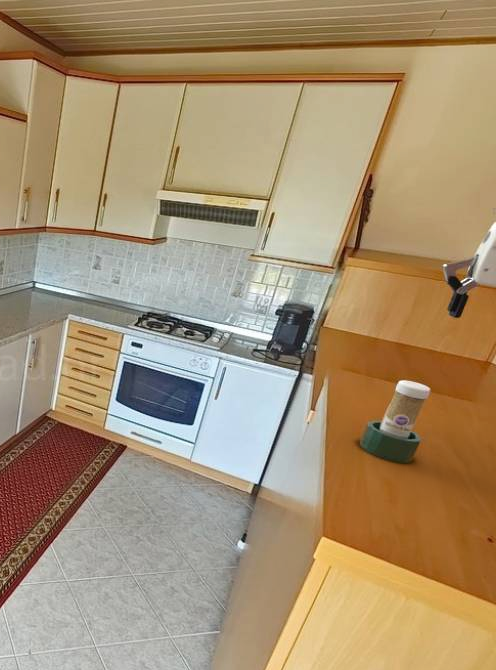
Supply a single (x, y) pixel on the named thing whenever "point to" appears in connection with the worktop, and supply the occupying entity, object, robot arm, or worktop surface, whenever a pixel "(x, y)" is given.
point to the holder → (389, 444)
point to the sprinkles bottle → (404, 409)
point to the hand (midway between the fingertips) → (490, 321)
